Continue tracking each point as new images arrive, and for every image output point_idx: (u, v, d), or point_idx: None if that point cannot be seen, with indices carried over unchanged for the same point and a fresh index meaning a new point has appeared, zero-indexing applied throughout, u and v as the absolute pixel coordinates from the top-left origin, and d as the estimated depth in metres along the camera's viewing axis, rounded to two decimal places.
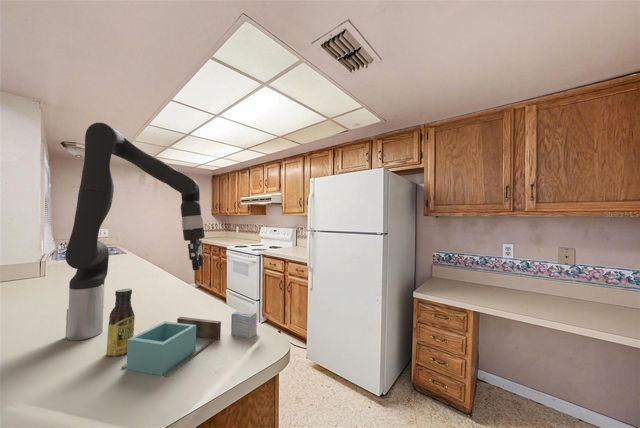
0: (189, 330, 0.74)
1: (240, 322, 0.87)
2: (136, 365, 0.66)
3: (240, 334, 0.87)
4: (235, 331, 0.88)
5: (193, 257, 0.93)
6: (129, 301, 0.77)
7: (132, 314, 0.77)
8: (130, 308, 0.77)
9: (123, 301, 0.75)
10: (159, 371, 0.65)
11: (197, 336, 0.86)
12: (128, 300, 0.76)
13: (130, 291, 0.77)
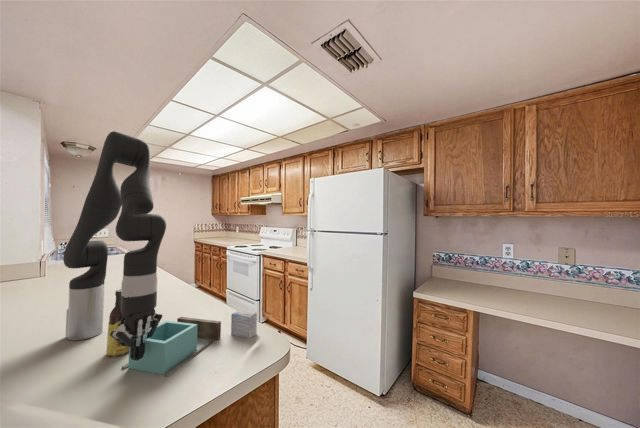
0: (191, 329, 0.75)
1: (240, 322, 0.87)
2: (138, 364, 0.67)
3: (240, 334, 0.87)
4: (235, 331, 0.88)
5: None
6: None
7: None
8: None
9: None
10: (161, 370, 0.65)
11: (197, 336, 0.86)
12: None
13: None
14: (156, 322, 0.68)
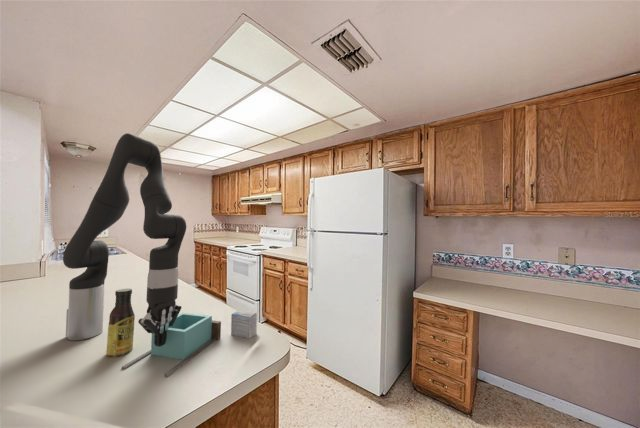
0: (206, 320, 0.82)
1: (240, 322, 0.87)
2: (160, 350, 0.74)
3: (240, 334, 0.87)
4: (235, 331, 0.88)
5: None
6: (129, 301, 0.77)
7: (132, 314, 0.77)
8: (130, 308, 0.77)
9: (123, 301, 0.75)
10: (181, 356, 0.72)
11: None
12: (128, 301, 0.76)
13: (130, 291, 0.77)
14: (176, 313, 0.75)
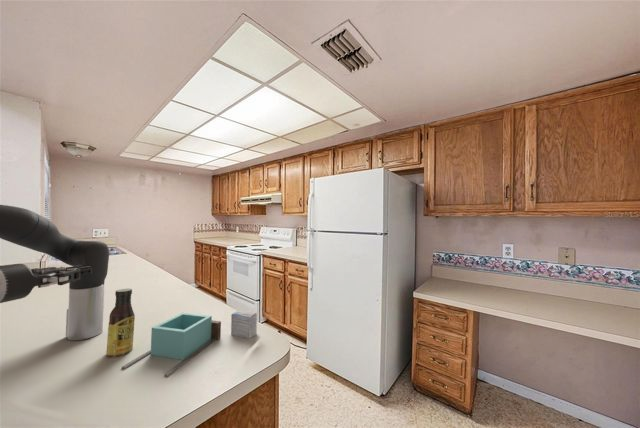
0: (206, 320, 0.82)
1: (240, 322, 0.87)
2: (160, 351, 0.74)
3: (240, 334, 0.87)
4: (235, 331, 0.88)
5: None
6: (129, 301, 0.77)
7: (132, 314, 0.77)
8: (130, 308, 0.77)
9: (123, 301, 0.75)
10: (181, 356, 0.72)
11: None
12: (128, 301, 0.76)
13: (130, 291, 0.77)
14: None
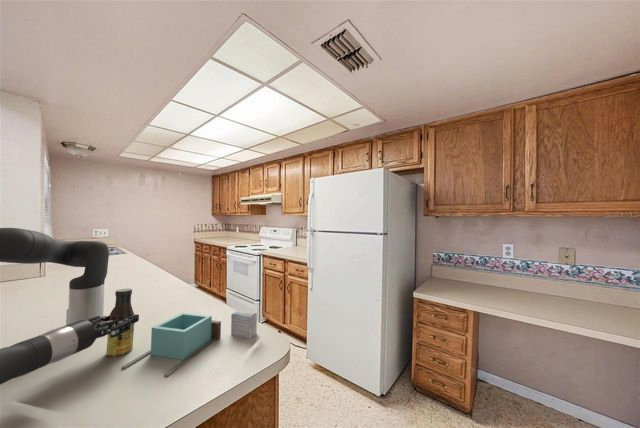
0: (206, 320, 0.82)
1: (240, 322, 0.87)
2: (160, 351, 0.74)
3: (240, 334, 0.87)
4: (235, 331, 0.88)
5: None
6: (129, 301, 0.77)
7: (132, 314, 0.77)
8: (130, 308, 0.77)
9: (123, 301, 0.75)
10: (181, 356, 0.72)
11: None
12: (128, 300, 0.76)
13: (130, 291, 0.77)
14: None
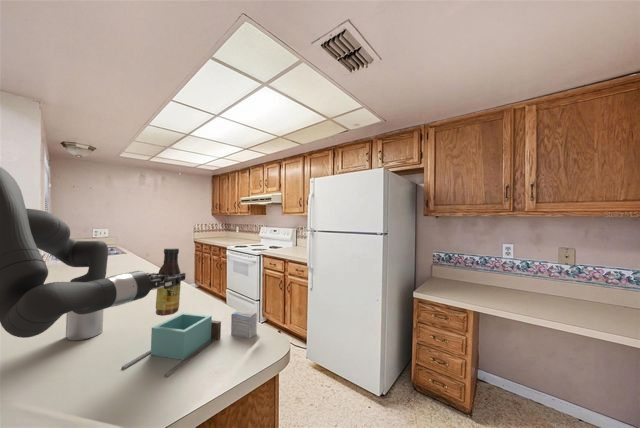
0: (206, 320, 0.82)
1: (240, 322, 0.87)
2: (160, 351, 0.74)
3: (240, 334, 0.87)
4: (235, 331, 0.88)
5: None
6: (176, 259, 0.79)
7: (179, 272, 0.78)
8: (177, 266, 0.78)
9: (171, 259, 0.77)
10: (181, 356, 0.72)
11: None
12: (175, 259, 0.78)
13: (177, 250, 0.79)
14: None
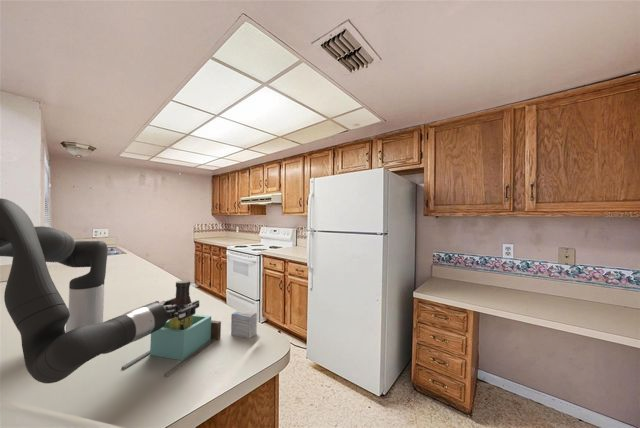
0: (206, 321, 0.82)
1: (240, 322, 0.87)
2: (159, 351, 0.74)
3: (240, 334, 0.87)
4: (235, 331, 0.88)
5: None
6: (188, 292, 0.79)
7: None
8: (189, 299, 0.79)
9: (183, 292, 0.78)
10: (180, 356, 0.72)
11: None
12: (187, 292, 0.79)
13: (189, 283, 0.79)
14: None
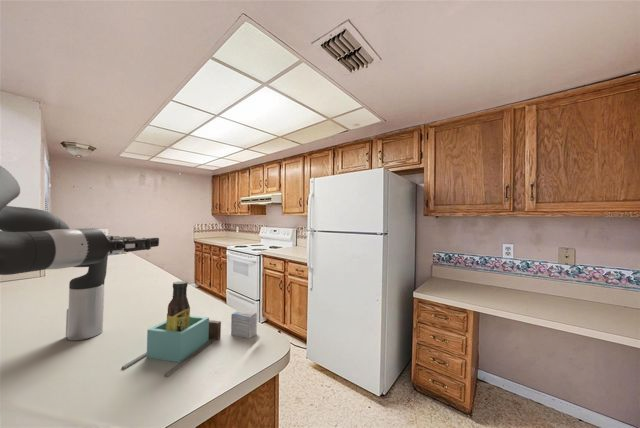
0: (203, 322, 0.80)
1: (240, 322, 0.87)
2: (156, 353, 0.72)
3: (240, 334, 0.87)
4: (235, 331, 0.88)
5: None
6: (185, 293, 0.78)
7: (188, 306, 0.78)
8: (186, 300, 0.78)
9: (180, 293, 0.76)
10: (177, 359, 0.71)
11: None
12: (184, 293, 0.78)
13: (186, 283, 0.78)
14: None
